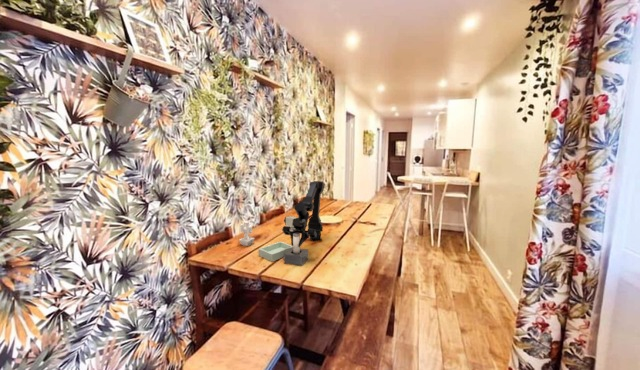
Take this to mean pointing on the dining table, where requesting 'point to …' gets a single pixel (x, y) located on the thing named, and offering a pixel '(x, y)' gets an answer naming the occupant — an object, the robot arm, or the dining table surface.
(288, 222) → the pneumatic valve
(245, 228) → the figurine
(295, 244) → the beige capped cylinder
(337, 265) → the dining table surface
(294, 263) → the block
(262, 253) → the tray
